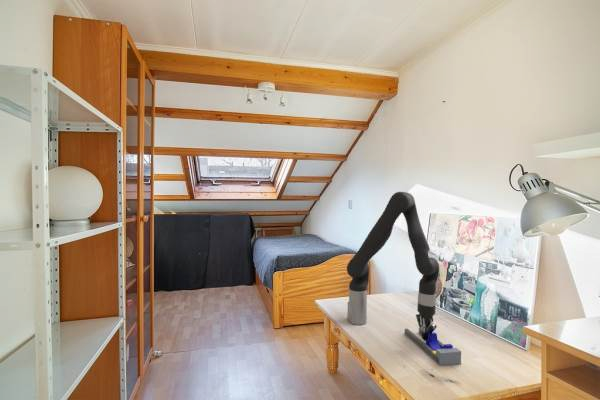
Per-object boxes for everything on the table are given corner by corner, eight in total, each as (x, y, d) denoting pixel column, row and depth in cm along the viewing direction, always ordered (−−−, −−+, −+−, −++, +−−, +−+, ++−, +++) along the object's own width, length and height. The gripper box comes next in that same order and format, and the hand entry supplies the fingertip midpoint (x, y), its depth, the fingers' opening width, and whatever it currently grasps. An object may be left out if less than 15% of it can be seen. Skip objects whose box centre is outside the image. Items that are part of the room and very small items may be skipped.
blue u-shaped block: (425, 346, 137) (425, 333, 137) (434, 345, 138) (434, 332, 138) (442, 361, 125) (442, 346, 125) (452, 360, 126) (452, 345, 126)
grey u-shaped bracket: (440, 365, 122) (440, 353, 122) (404, 333, 149) (404, 323, 149) (461, 363, 123) (461, 351, 123) (421, 332, 151) (421, 322, 151)
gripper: (411, 297, 145) (409, 333, 146) (427, 308, 132) (426, 348, 133) (425, 296, 147) (424, 332, 148) (443, 307, 134) (441, 346, 135)
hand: (425, 339), depth 141 cm, fingers closed
